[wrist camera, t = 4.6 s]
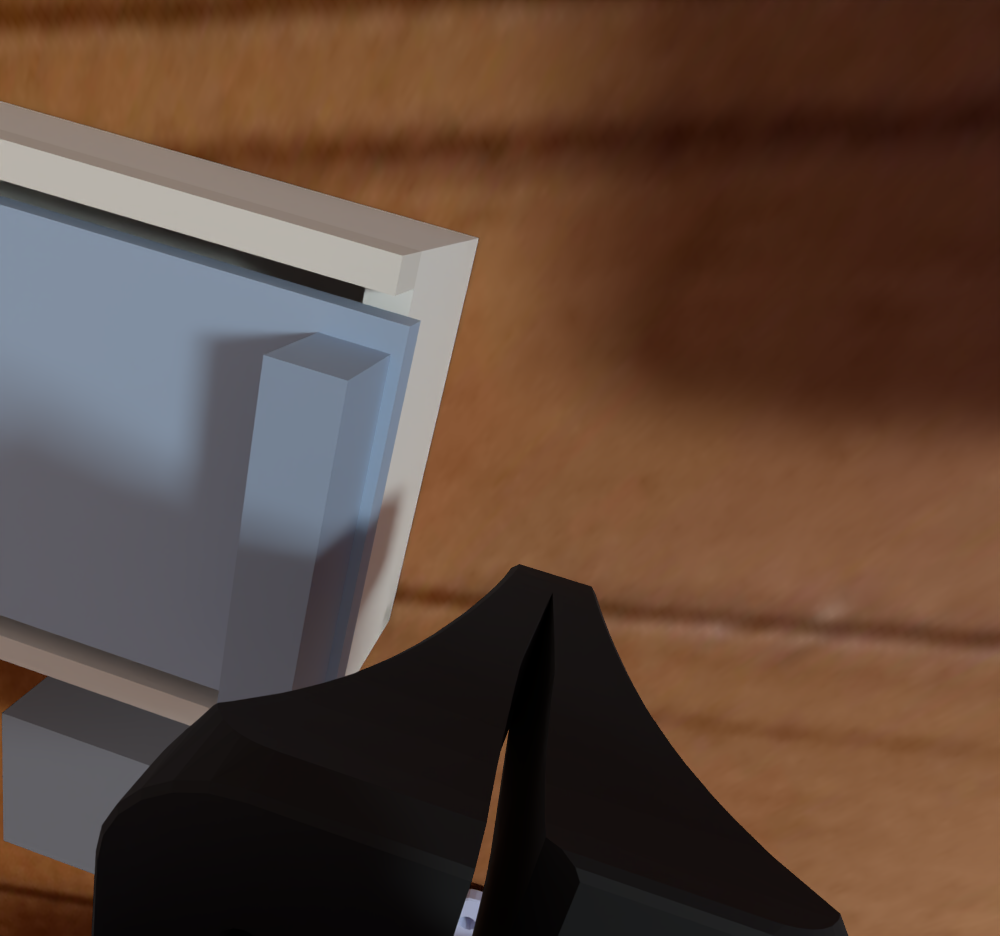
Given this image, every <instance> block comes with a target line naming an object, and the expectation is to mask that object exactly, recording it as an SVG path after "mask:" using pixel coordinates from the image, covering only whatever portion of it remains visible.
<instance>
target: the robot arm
mask: <svg viewBox="0 0 1000 936" xmlns="http://www.w3.org/2000/svg"><path fill="white" fill-rule="evenodd" d="M508 730H509V733H508ZM507 733H508V740H507V746H506V753H505V760H504V766H503V773H502V780H501V787H500V794H499V800H498V807H497V814H496V821H495V828H494V835H493V842H492V848H491V854H490V860H489V865H488V870H487V875H486V881H485V885H484V889H483V892H482V891H479V890H475V889H469V888H470V885H471V882H472V878H473V874H474V871H475V867H476V863H477V859H478V855H479V851H480V847H481V843H482V839H483V835H484V831H485V827H486V823H487V817H488V812H489V806H490V800H491V795H492V790H493V785H494V780H495V775H496V770H497V765H498V760H499V755H500V751H501V748H502V746H503V743H504V740H505V738H506V735H507ZM92 936H848V934H847V931H846V928H845V925H844V923H843V920H842V917H841V915H840V913H839V912H838V911H836V910H835V909H834V908H833V907H832V906H830V905H829V904H828V903H827V902H826V901H825V900H823V899H822V898H821V897H820V896H819V895H817V894H816V893H815V892H814V891H813V890H812V889H810V888H809V887H808V886H807V885H806V884H804V883H803V882H802V881H801V880H800V879H799V878H797V877H796V876H795V875H794V874H793V873H791V872H790V871H789V870H788V869H787V868H786V867H784V866H783V865H782V864H781V863H780V862H778V861H777V860H776V859H775V858H774V857H773V856H772V855H771V854H770V853H768V852H767V851H766V850H765V849H764V848H763V847H762V846H761V845H760V844H759V843H758V842H757V841H756V840H755V839H754V838H753V837H752V836H751V835H750V834H749V833H748V832H747V831H746V830H745V829H744V828H743V827H742V826H741V825H740V824H739V823H738V822H737V821H736V820H735V819H734V818H733V817H732V816H731V815H730V814H729V813H728V812H727V811H726V810H725V809H724V808H723V807H722V805H721V804H720V803H719V802H718V801H717V800H716V799H715V798H714V797H713V796H712V795H711V793H710V792H709V791H708V790H707V789H706V787H705V786H704V785H703V784H702V783H701V782H700V780H699V779H698V778H697V777H696V776H695V775H694V773H693V772H692V771H691V770H690V769H689V767H688V766H687V765H686V764H685V762H684V761H683V760H682V759H681V757H680V756H679V755H678V753H677V752H676V751H675V750H674V748H673V747H672V745H671V744H670V743H669V741H668V740H667V738H666V737H665V735H664V734H663V732H662V731H661V730H660V728H659V727H658V725H657V724H656V722H655V721H654V720H653V718H652V717H651V715H650V713H649V712H648V710H647V709H646V707H645V705H644V704H643V702H642V700H641V698H640V696H639V695H638V693H637V691H636V689H635V687H634V686H633V684H632V682H631V680H630V678H629V676H628V674H627V672H626V670H625V668H624V665H623V663H622V661H621V659H620V657H619V654H618V652H617V650H616V648H615V646H614V643H613V641H612V639H611V636H610V634H609V631H608V629H607V626H606V623H605V621H604V618H603V615H602V613H601V610H600V607H599V604H598V601H597V597H596V594H595V592H594V590H593V589H592V587H591V586H588V585H585V584H581V583H578V582H575V581H572V580H569V579H565V578H562V577H559V576H556V575H553V574H549V573H546V572H543V571H540V570H537V569H533V568H530V567H527V566H524V565H521V564H519V565H517V566H514V567H512V568H511V569H510V570H509V572H508V573H507V574H506V576H505V577H504V578H503V579H502V580H501V581H500V582H499V583H498V584H497V585H496V586H495V587H494V588H493V589H492V590H491V591H490V592H489V593H488V594H487V595H486V596H484V597H483V598H482V599H481V600H480V601H478V602H477V603H476V604H475V605H474V606H472V607H471V608H470V609H469V610H468V611H466V612H465V613H464V614H462V615H461V616H460V617H458V618H457V619H455V620H454V621H452V622H451V623H449V624H448V625H447V626H445V627H444V628H442V629H441V630H439V631H438V632H436V633H435V634H433V635H432V636H430V637H428V638H427V639H425V640H423V641H422V642H420V643H418V644H417V645H415V646H413V647H411V648H409V649H407V650H405V651H403V652H402V653H400V654H398V655H396V656H394V657H392V658H389V659H387V660H385V661H383V662H380V663H378V664H376V665H373V666H371V667H369V668H366V669H363V670H361V671H358V672H356V673H353V674H350V675H347V676H344V677H341V678H338V679H334V680H331V681H328V682H325V683H321V684H317V685H313V686H309V687H305V688H301V689H297V690H293V691H288V692H283V693H278V694H272V695H266V696H260V697H254V698H248V699H242V700H235V701H228V702H220V703H216V704H215V705H213V706H212V707H211V708H210V709H209V710H208V711H207V712H205V713H204V714H203V715H202V716H201V717H200V718H199V719H198V720H197V721H195V722H194V723H193V724H192V725H191V726H190V727H189V728H187V729H186V730H185V731H184V732H183V733H182V734H181V735H180V736H178V737H177V738H176V739H175V740H174V741H173V742H172V743H171V744H170V745H169V746H168V747H167V748H166V749H165V750H164V751H163V752H162V753H161V754H160V755H159V756H158V757H157V758H156V759H155V761H154V762H153V763H152V764H151V765H150V766H149V767H148V768H147V770H146V771H145V772H144V773H143V774H142V775H141V777H140V778H139V779H138V780H137V781H136V782H135V784H134V785H133V786H132V787H131V788H130V789H129V791H128V792H127V793H126V794H125V795H124V796H123V798H122V799H121V800H120V801H119V802H118V803H117V805H116V806H115V807H114V809H113V810H112V812H111V813H110V814H109V816H108V817H107V819H106V820H105V821H104V823H103V824H102V826H101V830H100V835H99V839H98V843H97V848H96V855H95V876H94V896H93V917H92Z"/></svg>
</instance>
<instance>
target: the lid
mask: <svg viewBox="0 0 1000 936" xmlns="http://www.w3.org/2000/svg"><path fill="white" fill-rule="evenodd" d="M420 322H421V321H420V320H417V319H414V318H410V317H407V316H404V315H400V314H397V313H393V312H390V311H387V310H383V309H380V308H377V307H373V306H370V305H367V304H363V303H360V302H356V301H353V300H350V299H346V298H343V297H340V296H336V295H333V294H330V293H326V292H323V291H319V290H316V289H313V288H309V287H306V286H303V285H299V284H296V283H292V282H289V281H286V280H282V279H279V278H276V277H272V276H269V275H266V274H262V273H259V272H255V271H252V270H249V269H245V268H242V267H239V266H235V265H232V264H229V263H225V262H222V261H218V260H215V259H212V258H208V257H205V256H202V255H198V254H195V253H192V252H188V251H185V250H181V249H178V248H175V247H171V246H168V245H165V244H161V243H158V242H154V241H151V240H148V239H144V238H141V237H138V236H134V235H131V234H128V233H124V232H121V231H117V230H114V229H111V228H107V227H104V226H101V225H97V224H94V223H91V222H87V221H84V220H80V219H77V218H74V217H70V216H67V215H64V214H60V213H57V212H54V211H50V210H47V209H43V208H40V207H37V206H33V205H30V204H27V203H23V202H20V201H16V200H13V199H10V198H6V197H3V196H0V615H1V616H4V617H7V618H10V619H13V620H16V621H19V622H21V623H24V624H27V625H30V626H33V627H36V628H39V629H42V630H45V631H47V632H50V633H53V634H56V635H59V636H62V637H65V638H68V639H71V640H74V641H76V642H79V643H82V644H85V645H88V646H91V647H94V648H97V649H100V650H102V651H105V652H108V653H111V654H114V655H117V656H120V657H123V658H126V659H129V660H131V661H134V662H137V663H140V664H143V665H146V666H149V667H152V668H155V669H157V670H160V671H163V672H166V673H169V674H172V675H175V676H178V677H181V678H184V679H186V680H189V681H192V682H195V683H198V684H201V685H204V686H207V687H210V688H212V689H215V690H218V691H219V692H218V700H217V703H220V702H228V701H235V700H242V699H248V698H254V697H260V696H266V695H272V694H278V693H283V692H288V691H293V690H297V689H301V688H305V687H309V686H313V685H317V684H321V683H325V682H328V681H331V680H334V679H338V678H341V677H344V676H345V673H346V668H347V664H348V659H349V654H350V650H351V645H352V640H353V635H354V631H355V626H356V621H357V617H358V612H359V607H360V603H361V598H362V593H363V589H364V584H365V579H366V575H367V570H368V565H369V561H370V556H371V551H372V547H373V542H374V537H375V533H376V528H377V523H378V519H379V514H380V509H381V505H382V500H383V495H384V491H385V486H386V481H387V476H388V472H389V467H390V462H391V458H392V453H393V448H394V444H395V439H396V434H397V430H398V425H399V420H400V416H401V411H402V406H403V402H404V397H405V392H406V388H407V383H408V378H409V374H410V369H411V364H412V360H413V355H414V350H415V346H416V341H417V336H418V332H419V327H420Z"/></svg>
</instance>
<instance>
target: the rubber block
mask: <svg viewBox="0 0 1000 936" xmlns="http://www.w3.org/2000/svg"><path fill="white" fill-rule="evenodd" d="M189 727H190V726H189V725H187V724H184V723H181V722H178V721H175V720H172V719H169V718H167V717H164V716H161V715H158V714H155V713H152V712H150V711H147V710H144V709H141V708H138V707H135V706H132V705H130V704H127V703H124V702H121V701H118V700H115V699H112V698H110V697H107V696H104V695H101V694H98V693H95V692H92V691H90V690H87V689H84V688H81V687H78V686H75V685H72V684H70V683H67V682H64V681H61V680H58V679H55V678H53V677H50V676H48V677H46V678H45V679H44V680H43V681H41V682H40V683H39V684H38V685H36V686H35V687H34V688H33V689H31V690H30V691H29V692H28V693H26V694H25V695H24V696H23V697H21V698H20V699H19V700H18V701H16V702H15V703H14V704H13V705H11V706H10V707H9V708H8V709H6V710H5V711H4V712H3V713H2V748H3V824H4V841H7V842H9V843H12V844H15V845H17V846H20V847H23V848H25V849H28V850H31V851H34V852H36V853H39V854H42V855H44V856H47V857H50V858H52V859H55V860H58V861H60V862H63V863H66V864H69V865H71V866H74V867H77V868H79V869H82V870H85V871H87V872H90V873H93V874H95V855H96V848H97V843H98V839H99V835H100V830H101V826H102V824H103V823H104V821H105V820H106V819H107V817H108V816H109V814H110V813H111V812H112V810H113V809H114V807H115V806H116V805H117V803H118V802H119V801H120V800H121V799H122V798H123V796H124V795H125V794H126V793H127V792H128V791H129V789H130V788H131V787H132V786H133V785H134V784H135V782H136V781H137V780H138V779H139V778H140V777H141V775H142V774H143V773H144V772H145V771H146V770H147V768H148V767H149V766H150V765H151V764H152V763H153V762H154V761H155V759H156V758H157V757H158V756H159V755H160V754H161V753H162V752H163V751H164V750H165V749H166V748H167V747H168V746H169V745H170V744H171V743H172V742H173V741H174V740H175V739H176V738H177V737H178V736H180V735H181V734H182V733H183V732H184V731H185V730H186V729H187V728H189Z"/></svg>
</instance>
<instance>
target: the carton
mask: <svg viewBox="0 0 1000 936" xmlns="http://www.w3.org/2000/svg"><path fill="white" fill-rule="evenodd" d="M0 196H3V197H6V198H10V199H13V200H16V201H20V202H23V203H27V204H30V205H33V206H37V207H40V208H43V209H47V210H50V211H54V212H57V213H60V214H64V215H67V216H70V217H74V218H77V219H80V220H84V221H87V222H91V223H94V224H97V225H101V226H104V227H107V228H111V229H114V230H117V231H121V232H124V233H128V234H131V235H134V236H138V237H141V238H144V239H148V240H151V241H154V242H158V243H161V244H165V245H168V246H171V247H175V248H178V249H181V250H185V251H188V252H192V253H195V254H198V255H202V256H205V257H208V258H212V259H215V260H218V261H222V262H225V263H229V264H232V265H235V266H239V267H242V268H245V269H249V270H252V271H255V272H259V273H262V274H266V275H269V276H272V277H276V278H279V279H282V280H286V281H289V282H292V283H296V284H299V285H303V286H306V287H309V288H313V289H316V290H319V291H323V292H326V293H330V294H333V295H336V296H340V297H343V298H346V299H350V300H353V301H356V302H360V303H363V304H367V305H370V306H373V307H377V308H380V309H383V310H387V311H390V312H393V313H397V314H400V315H404V316H407V317H410V318H414V319H417V320H420V321H421V322H420V327H419V332H418V336H417V341H416V346H415V350H414V355H413V360H412V364H411V369H410V374H409V378H408V383H407V388H406V392H405V397H404V402H403V406H402V411H401V416H400V420H399V425H398V430H397V434H396V439H395V444H394V448H393V453H392V458H391V462H390V467H389V472H388V476H387V481H386V486H385V491H384V495H383V500H382V505H381V509H380V514H379V519H378V523H377V528H376V533H375V537H374V542H373V547H372V551H371V556H370V561H369V565H368V570H367V575H366V579H365V584H364V589H363V593H362V598H361V603H360V607H359V612H358V617H357V621H356V626H355V631H354V635H353V640H352V645H351V650H350V654H349V659H348V664H347V668H346V673H345V676H347V675H350V674H353V673H356V672H358V671H359V670H360V668H361V666H362V665H363V663H364V661H365V660H366V658H367V656H368V655H369V653H370V651H371V650H372V648H373V646H374V645H375V643H376V641H377V640H378V638H379V636H380V635H381V633H382V631H383V630H384V628H385V626H386V625H387V623H388V621H389V619H390V615H391V611H392V607H393V602H394V598H395V594H396V590H397V585H398V581H399V577H400V573H401V568H402V564H403V560H404V555H405V551H406V547H407V543H408V538H409V534H410V530H411V526H412V521H413V517H414V513H415V509H416V504H417V500H418V496H419V491H420V487H421V483H422V479H423V474H424V470H425V466H426V462H427V457H428V453H429V449H430V444H431V440H432V436H433V432H434V427H435V423H436V419H437V415H438V410H439V406H440V402H441V398H442V393H443V389H444V385H445V380H446V376H447V372H448V368H449V363H450V359H451V355H452V351H453V346H454V342H455V338H456V333H457V329H458V325H459V321H460V316H461V312H462V308H463V304H464V299H465V295H466V291H467V287H468V282H469V278H470V274H471V269H472V265H473V261H474V257H475V252H476V248H477V244H478V240H479V238H477V237H473V236H470V235H466V234H463V233H459V232H456V231H452V230H449V229H445V228H442V227H438V226H435V225H431V224H428V223H424V222H421V221H417V220H414V219H410V218H407V217H403V216H400V215H396V214H393V213H389V212H386V211H382V210H379V209H375V208H372V207H368V206H365V205H361V204H358V203H354V202H351V201H347V200H344V199H340V198H337V197H334V196H330V195H327V194H323V193H320V192H316V191H313V190H309V189H306V188H302V187H299V186H295V185H292V184H288V183H285V182H281V181H278V180H274V179H271V178H267V177H264V176H260V175H257V174H253V173H250V172H246V171H243V170H239V169H236V168H232V167H229V166H225V165H222V164H218V163H215V162H211V161H208V160H204V159H201V158H197V157H194V156H190V155H187V154H183V153H180V152H176V151H173V150H169V149H166V148H162V147H159V146H155V145H152V144H148V143H145V142H141V141H138V140H134V139H131V138H127V137H124V136H120V135H117V134H113V133H110V132H106V131H103V130H99V129H96V128H92V127H89V126H85V125H82V124H78V123H75V122H71V121H68V120H64V119H61V118H57V117H54V116H50V115H47V114H44V113H40V112H37V111H33V110H30V109H26V108H23V107H19V106H16V105H12V104H9V103H5V102H2V101H0ZM0 659H1V660H4V661H7V662H10V663H13V664H15V665H18V666H21V667H24V668H27V669H30V670H33V671H35V672H38V673H41V674H44V675H47V676H50V677H53V678H55V679H58V680H61V681H64V682H67V683H70V684H72V685H75V686H78V687H81V688H84V689H87V690H90V691H92V692H95V693H98V694H101V695H104V696H107V697H110V698H112V699H115V700H118V701H121V702H124V703H127V704H130V705H132V706H135V707H138V708H141V709H144V710H147V711H150V712H152V713H155V714H158V715H161V716H164V717H167V718H169V719H172V720H175V721H178V722H181V723H184V724H187V725H189V726H191V725H192V724H193V723H194V722H195V721H197V720H198V719H199V718H200V717H201V716H202V715H203V714H204V713H205V712H207V711H208V710H209V709H210V708H211V707H212V706H213V705H215V704H216V703H217V700H218V692H219V691H218V690H215V689H212V688H210V687H207V686H204V685H201V684H198V683H195V682H192V681H189V680H186V679H184V678H181V677H178V676H175V675H172V674H169V673H166V672H163V671H160V670H157V669H155V668H152V667H149V666H146V665H143V664H140V663H137V662H134V661H131V660H129V659H126V658H123V657H120V656H117V655H114V654H111V653H108V652H105V651H102V650H100V649H97V648H94V647H91V646H88V645H85V644H82V643H79V642H76V641H74V640H71V639H68V638H65V637H62V636H59V635H56V634H53V633H50V632H47V631H45V630H42V629H39V628H36V627H33V626H30V625H27V624H24V623H21V622H19V621H16V620H13V619H10V618H7V617H4V616H1V615H0Z"/></svg>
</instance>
